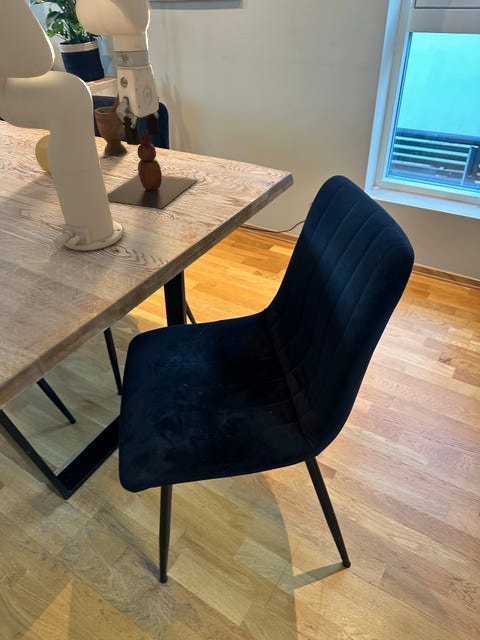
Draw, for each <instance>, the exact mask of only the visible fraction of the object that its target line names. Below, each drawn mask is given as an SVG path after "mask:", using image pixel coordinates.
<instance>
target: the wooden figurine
mask: <svg viewBox="0 0 480 640" xmlns="http://www.w3.org/2000/svg"><path fill="white" fill-rule="evenodd" d="M137 157H138V158H139V162H138V163H137V175H139V178H140V181H141V183H142V186H143V187H144V188H145V189H147V190H156V189H158V188H159V187H160V186H161V181H162V176H163V175H162V169H161V165H160V163H159V161H158V160H157V159H156V157H157V151H156V147H155V145H154V144H152V143H151V138H150V135H149V132H148V130H147V129H146V131H145V130H143V134H142V135H141V137H140V144H139V145H138V147H137Z"/></svg>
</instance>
